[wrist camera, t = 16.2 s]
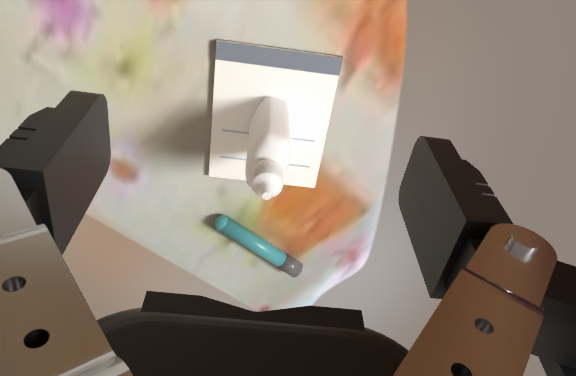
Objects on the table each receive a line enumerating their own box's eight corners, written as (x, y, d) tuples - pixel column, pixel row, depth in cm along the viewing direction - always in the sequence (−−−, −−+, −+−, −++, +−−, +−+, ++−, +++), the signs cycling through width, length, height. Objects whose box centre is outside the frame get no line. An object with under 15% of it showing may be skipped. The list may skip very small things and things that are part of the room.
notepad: (209, 173, 49) (208, 176, 48) (217, 38, 41) (216, 41, 40) (314, 185, 50) (314, 188, 49) (342, 56, 42) (342, 58, 41)
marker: (211, 220, 52) (210, 230, 51) (221, 208, 52) (221, 218, 50) (291, 270, 57) (293, 280, 55) (302, 260, 56) (304, 270, 55)
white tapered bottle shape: (306, 120, 45) (314, 193, 35) (263, 154, 47) (259, 232, 37) (275, 87, 43) (274, 155, 33) (231, 125, 45) (218, 199, 35)
